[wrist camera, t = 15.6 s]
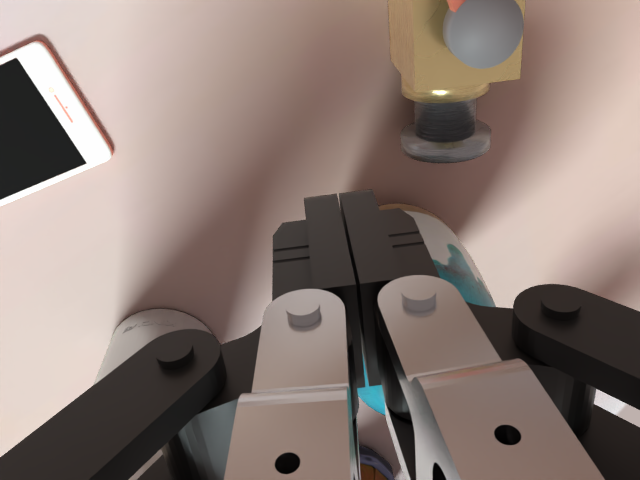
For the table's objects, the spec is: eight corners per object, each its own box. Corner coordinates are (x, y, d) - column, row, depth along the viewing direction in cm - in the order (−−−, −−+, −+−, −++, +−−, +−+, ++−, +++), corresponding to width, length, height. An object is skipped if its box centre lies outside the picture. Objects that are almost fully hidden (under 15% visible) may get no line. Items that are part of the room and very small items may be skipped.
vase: (317, 295, 49) (338, 493, 32) (326, 180, 44) (357, 346, 27) (439, 297, 50) (520, 490, 33) (462, 185, 45) (572, 348, 28)
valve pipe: (475, 125, 42) (521, 176, 34) (394, 136, 42) (421, 188, 34) (483, -173, 33) (548, -198, 25) (380, -160, 33) (413, -181, 25)
